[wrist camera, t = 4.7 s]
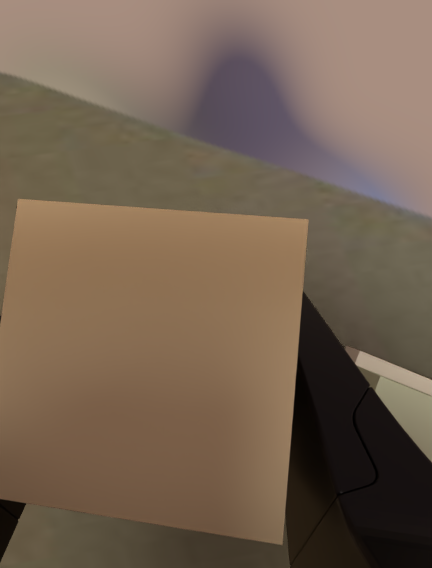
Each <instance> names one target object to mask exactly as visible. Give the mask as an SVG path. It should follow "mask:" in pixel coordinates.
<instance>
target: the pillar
mask: <svg viewBox="0 0 432 568" xmlns="http://www.w3.org/2000/svg"><path fill="white" fill-rule="evenodd" d="M307 231H308V219H294V218H280V217H265V216H251V215H237V214H223V213H209V212H195V211H181V210H167V209H153V208H138V207H124V206H110V205H96V204H82V203H68V202H54V201H40V200H25V199H18V204H17V211H16V218H15V225H14V232H13V239H12V246H11V253H10V260H9V267H8V274H7V281H6V288H5V295H4V301H3V308H2V315H1V322H0V499H4V500H10V501H16V502H22V503H28V504H34V505H40V506H46V507H52V508H59V509H65V510H71V511H77V512H83V513H89V514H95V515H101V516H108V517H114V518H120V519H126V520H132V521H138V522H144V523H150V524H156V525H163V526H169V527H175V528H181V529H187V530H193V531H199V532H205V533H211V534H218V535H224V536H230V537H236V538H242V539H248V540H254V541H260V542H266V543H273V544H279V545H283V532H284V520H285V507H286V495H287V482H288V469H289V457H290V444H291V432H292V419H293V407H294V394H295V382H296V369H297V357H298V344H299V331H300V319H301V306H302V294H303V281H304V269H305V256H306V244H307Z"/></svg>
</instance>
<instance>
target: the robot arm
mask: <svg viewBox="0 0 432 568" xmlns="http://www.w3.org/2000/svg"><path fill="white" fill-rule="evenodd" d="M0 322H1V316H0ZM25 505H26V503H22V502H16V501H10V500H4V499H0V562H1V559H2V557H3V555H4V553H5V550H6V548H7V546H8V544H9V541H10V539H11V537H12V535H13V532H14V530H15V528H16V526H17V523H18V519H19V518H20V516H21V514H22V512H23V509H24V507H25ZM285 514H286V525H287V537H288V549H289V561H290V565H291V566H290V568H432V462H431V461H430V460H429V458H428V457H427V456H426V455H425V454H424V453H423V452H422V450H421V449H420V448H419V447H418V446H417V444H416V443H415V442H414V441H413V440H412V438H411V437H410V436H409V435H408V434H407V432H406V431H405V430H404V429H403V428H402V426H401V425H400V424H399V423H398V421H397V420H396V419H395V417H394V416H393V415H392V413H391V412H390V411H389V410H388V408H387V407H386V406H385V404H384V403H383V402H382V400H381V399H380V397H379V396H378V395H377V393H376V392H375V390H374V389H373V388H372V387H370V384H369V382H368V381H367V379H366V378H365V377H364V375H363V374H362V372H361V371H360V370H359V368H358V367H357V366H356V364H355V363H354V361H353V360H352V359H351V357H350V356H349V354H348V353H347V352H346V350H345V349H344V347H343V346H342V345H341V343H340V342H339V340H338V339H337V338H336V336H335V335H334V333H333V332H332V331H331V329H330V328H329V326H328V325H327V324H326V322H325V321H324V320H323V318H322V317H321V315H320V314H319V313H318V311H317V310H316V308H315V307H314V306H313V304H312V303H311V301H310V300H309V299H308V297H307V296H306V294H305V293H304V292H303V294H302V306H301V319H300V331H299V344H298V357H297V369H296V382H295V394H294V407H293V419H292V432H291V444H290V457H289V469H288V482H287V495H286V507H285Z"/></svg>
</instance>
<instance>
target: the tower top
mask: <svg viewBox="0 0 432 568" xmlns="http://www.w3.org/2000/svg"><path fill="white" fill-rule="evenodd" d="M357 367H358V368H359V370H360V371H361V372H362V374H363V375H364V377H365V378H366V379H367V381H368V382H369V384H370V387H372V388H373V389H374V390H375V392H376V393H377V395H378V396H379V397H380V399H381V400H382V402H383V403H384V404H385V406H386V407H387V408H388V410H389V411H390V412H391V413H392V415H393V416H394V417H395V419H396V420H397V421H398V423H399V424H400V425H401V426H402V428H403V429H404V430H405V431H406V432H407V434H408V435H409V436H410V437H411V438H412V440H413V441H414V442H415V443H416V444H417V446H418V447H419V448H420V449H421V450H422V452H423V453H424V454H425V455H426V456H427V457H428V458H429V460H430V461H431V462H432V395H429V394H427V393H424V392H422V391H419V390H417V389H414V388H412V387H409V386H407V385H404V384H402V383H399V382H397V381H394V380H392V379H389V378H387V377H384V376H382V375H379V374H377V373H374V372H372V371H369V370H367V369H364V368H362V367H359V366H357Z"/></svg>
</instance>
